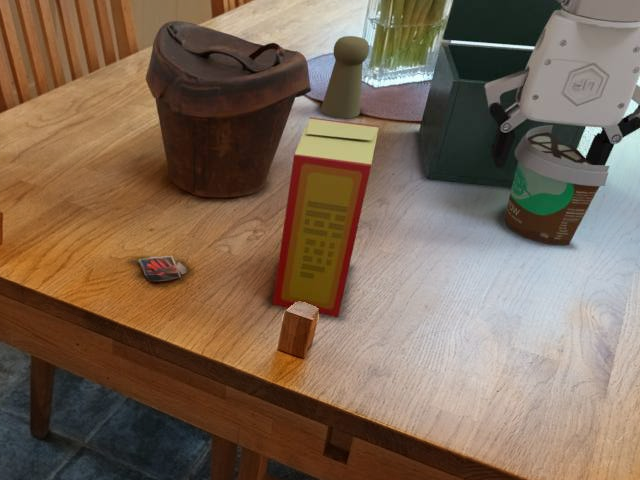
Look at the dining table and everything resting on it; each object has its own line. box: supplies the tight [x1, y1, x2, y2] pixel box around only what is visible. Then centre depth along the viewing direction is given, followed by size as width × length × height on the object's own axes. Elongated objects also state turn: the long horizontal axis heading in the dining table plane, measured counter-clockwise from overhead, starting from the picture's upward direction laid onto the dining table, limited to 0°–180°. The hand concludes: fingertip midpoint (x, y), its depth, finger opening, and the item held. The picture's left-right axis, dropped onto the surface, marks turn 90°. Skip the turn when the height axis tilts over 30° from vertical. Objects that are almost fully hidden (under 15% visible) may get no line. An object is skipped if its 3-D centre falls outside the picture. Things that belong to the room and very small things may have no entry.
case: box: [145, 20, 312, 199], centre depth 88 cm, size 18×20×18 cm
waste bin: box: [418, 41, 587, 188], centre depth 96 cm, size 17×17×13 cm
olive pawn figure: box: [320, 35, 370, 119], centre depth 110 cm, size 6×6×11 cm
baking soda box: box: [272, 117, 380, 318], centre depth 69 cm, size 10×6×16 cm
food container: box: [503, 125, 610, 246], centre depth 82 cm, size 12×6×10 cm, turn 6°
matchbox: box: [136, 255, 188, 283], centre depth 76 cm, size 5×5×1 cm
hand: (542, 168), depth 81 cm, fingers open, 9 cm apart
